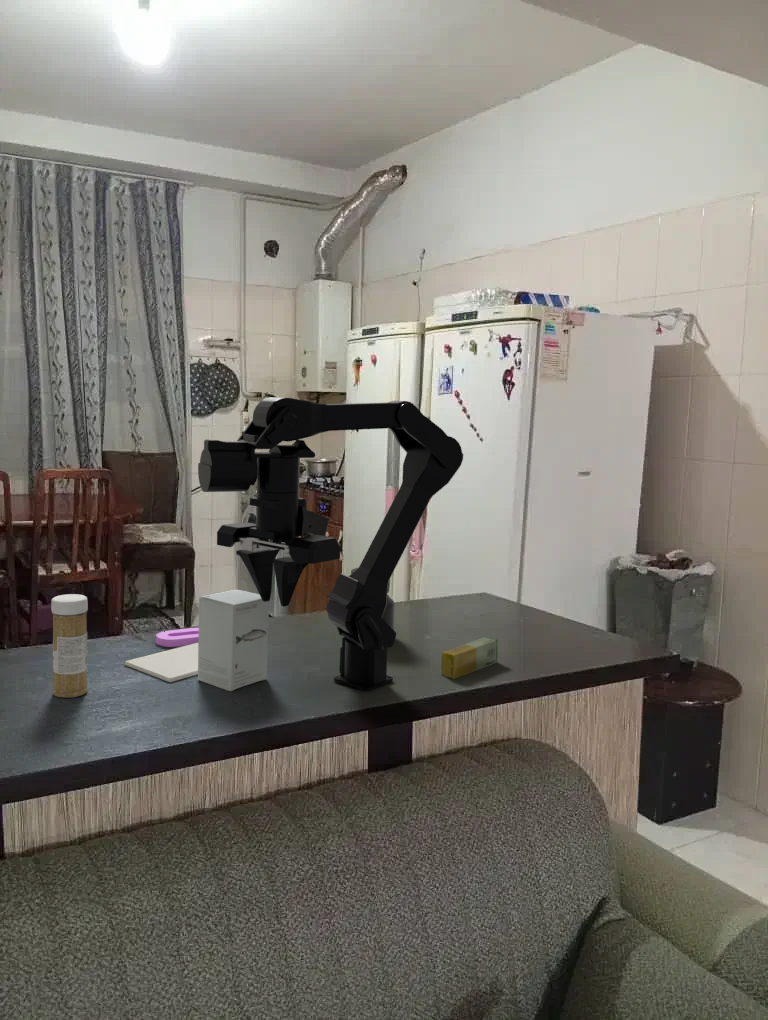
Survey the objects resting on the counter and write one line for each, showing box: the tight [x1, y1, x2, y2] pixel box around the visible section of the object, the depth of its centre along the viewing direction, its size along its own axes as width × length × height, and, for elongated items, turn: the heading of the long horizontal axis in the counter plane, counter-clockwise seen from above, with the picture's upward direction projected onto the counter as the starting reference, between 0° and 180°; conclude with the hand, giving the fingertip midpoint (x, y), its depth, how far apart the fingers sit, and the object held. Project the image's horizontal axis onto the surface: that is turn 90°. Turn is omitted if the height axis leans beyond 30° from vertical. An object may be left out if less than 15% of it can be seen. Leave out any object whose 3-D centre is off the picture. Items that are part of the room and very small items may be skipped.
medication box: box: [441, 636, 498, 680], centre depth 128 cm, size 12×3×4 cm, turn 139°
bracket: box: [155, 626, 199, 648], centre depth 137 cm, size 13×6×7 cm, turn 119°
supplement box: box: [197, 589, 270, 692], centre depth 118 cm, size 7×7×13 cm
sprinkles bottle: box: [50, 593, 89, 699], centre depth 110 cm, size 5×5×14 cm
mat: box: [124, 643, 198, 683], centre depth 125 cm, size 11×14×1 cm
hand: (275, 603), depth 112 cm, fingers open, 3 cm apart
